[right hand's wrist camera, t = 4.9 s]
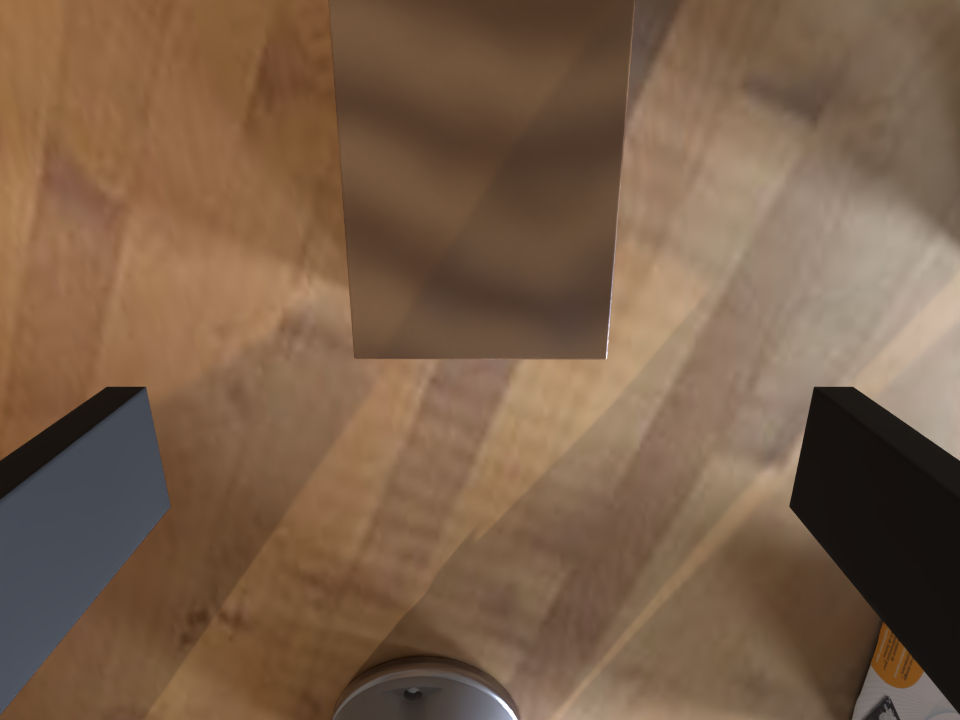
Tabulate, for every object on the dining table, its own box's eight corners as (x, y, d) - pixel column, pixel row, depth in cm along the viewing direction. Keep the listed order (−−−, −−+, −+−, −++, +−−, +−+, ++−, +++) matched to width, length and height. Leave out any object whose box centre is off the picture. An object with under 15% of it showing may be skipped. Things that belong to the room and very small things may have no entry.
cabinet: (364, -89, 31) (314, -182, 21) (599, -88, 31) (650, -181, 21) (384, 303, 38) (354, 359, 28) (575, 303, 38) (607, 360, 28)
